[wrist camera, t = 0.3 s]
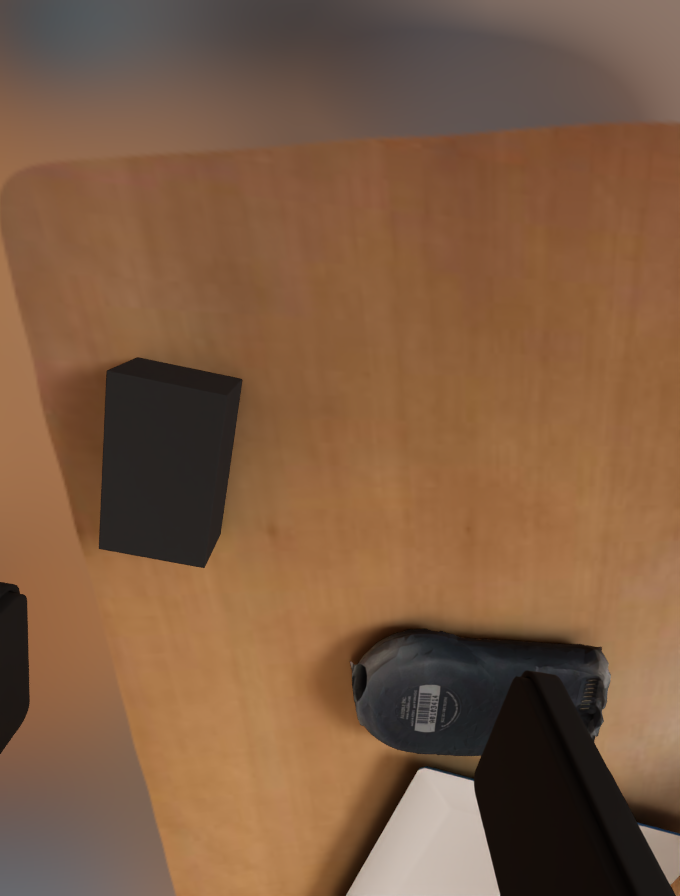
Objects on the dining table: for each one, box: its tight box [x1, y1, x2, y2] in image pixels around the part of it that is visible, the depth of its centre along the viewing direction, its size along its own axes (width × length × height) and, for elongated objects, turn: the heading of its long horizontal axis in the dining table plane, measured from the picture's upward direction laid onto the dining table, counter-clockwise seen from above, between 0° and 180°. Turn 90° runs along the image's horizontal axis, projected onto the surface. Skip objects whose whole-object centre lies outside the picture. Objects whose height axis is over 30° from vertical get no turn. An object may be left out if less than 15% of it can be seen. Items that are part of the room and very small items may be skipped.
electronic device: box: [350, 629, 611, 756], centre depth 31 cm, size 9×6×15 cm
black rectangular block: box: [99, 358, 242, 568], centre depth 25 cm, size 10×6×4 cm, turn 168°
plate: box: [346, 766, 680, 896], centre depth 38 cm, size 22×22×2 cm
